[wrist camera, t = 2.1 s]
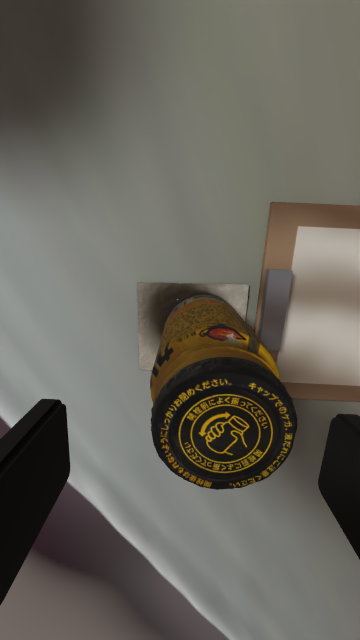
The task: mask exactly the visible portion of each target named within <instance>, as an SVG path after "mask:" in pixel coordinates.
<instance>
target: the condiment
mask: <svg viewBox="0 0 360 640" xmlns="http://www.w3.org/2000/svg"><path fill="white" fill-rule="evenodd" d="M248 289H249V285H240V284H192V283H191V284H179V283H137V295H138V320H139V321H138V323H139V364H140V370H152V375H151V380H150V389H151V398H152V401H153V407H152V418H151V425H152V426H151V431H152V437H153V443H154V446H155V448H156V451H157V453H158V455H159V457H160V458H161V460H162V461H163V462H164V463H165V464H166V466H167V467H168V468H169V469H170V470H171V471H172V472H174V473H175V474H176V475H178V476H180V477H182V478H183V479H184V480H187V481H189V482H191V483H194V484H196V485H198V486H200V487H206V488H211V489H217V490H218V489H233V488H241V487H245V486H247V485H249V484H253V483H255V482H258V481H261V480H263V479H265V478H267V477H269V476H270V475H271V474H272V473H273V472H274V471H275V470H276V469H278V468H279V467H280V466H281V464H282V463H283V462H284V461H285V459H286V458H287V457H288V455H289V454H290V451H291V449H292V446H293V441H294V437H295V433H296V430H297V416H296V412H295V409H294V405H293V402H292V399H291V397H290V395H289V393H288V392H287V390H286V387H285V386H284V385H283V384H282V383H281V381H280V376H279V370H278V367H277V365H276V362H275V360H274V359H273V357H272V355H271V353H270V351H269V350H268V349H267V348H266V346H265V345H264V343H263V342H262V341H261V339H260V338H259V337H258V336H257V335H256V334H255V333H254V331H253V330H252V329H251V328H250V326H249V325H248V324H247V323H246V322H245V319H246V310H247V300H248ZM176 299H178V300H176Z"/></svg>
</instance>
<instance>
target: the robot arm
mask: <svg viewBox="0 0 360 640" xmlns="http://www.w3.org/2000/svg"><path fill="white" fill-rule="evenodd" d="M69 473H70V457H69V443H68V428H67V414H66V406H65V405H64V404H62V403H61V401H60V400H57V399H41V400H40V401H39V402H38V403H37V404H36V405H35V406H34V407H33V408H32V409H31V410H30V411H29V412H28V413H27V414H26V415H25V416H24V417H23V418H22V419H21V420H20V421H18V422H17V423H16V424H15V425H14V426H13V427H12V428H11V429H10V430H9V431H8V432H7V433H6V434H5V435H4V436H3V437H2V438H1V439H0V605H1V603H2V602H3V600H4V598H5V596H6V594H7V593H8V590H9V589H10V587H11V585H12V583H13V581H14V579H15V577H16V576H17V574H18V572H19V570H20V568H21V566H22V564H23V562H24V560H25V559H26V557H27V555H28V553H29V551H30V549H31V547H32V545H33V544H34V542H35V540H36V538H37V536H38V534H39V532H40V530H41V528H42V527H43V524H44V523H45V521H46V519H47V517H48V515H49V513H50V511H51V510H52V508H53V506H54V504H55V502H56V500H57V498H58V496H59V495H60V493H61V491H62V489H63V487H64V485H65V483H66V481H67V479H68V477H69ZM318 485H319V489H320V492H321V494H322V496H323V498H324V499H325V501H326V503H327V504H328V506H329V508H330V509H331V511H332V513H333V515H334V516H335V518H336V520H337V521H338V523H339V525H340V527H341V528H342V530H343V532H344V533H345V535H346V537H347V539H348V540H349V542H350V544H351V545H352V547H353V549H354V551H355V552H356V554H357V556H358V557H359V559H360V416H358V415H353V414H338V415H337V416H336V418H333V419H332V420H331V424H330V429H329V433H328V438H327V442H326V447H325V452H324V456H323V461H322V466H321V470H320V475H319V480H318Z"/></svg>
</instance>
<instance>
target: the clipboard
mask: <svg viewBox="0 0 360 640" xmlns="http://www.w3.org/2000/svg"><path fill="white" fill-rule="evenodd" d="M254 333H255V334H256V335H257V336H258V337H259V338H260V339H261V341H262V342H263V343H264V345H265V346H266V348H267V349H268V350H269V351H270V353H271V355H272V357H273V359H274V360H275V362H276V365H277V367H278V370H279V376H280V381H281V383H282V384H283V385H284V386H285V387H286V390H287V392H288V393H289V395H290V397H291V398H298V399H317V400H336V401H355V402H360V206H352V205H330V204H308V203H286V202H271V203H270V211H269V218H268V226H267V234H266V242H265V250H264V257H263V265H262V273H261V281H260V289H259V296H258V304H257V312H256V320H255V328H254Z"/></svg>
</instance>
